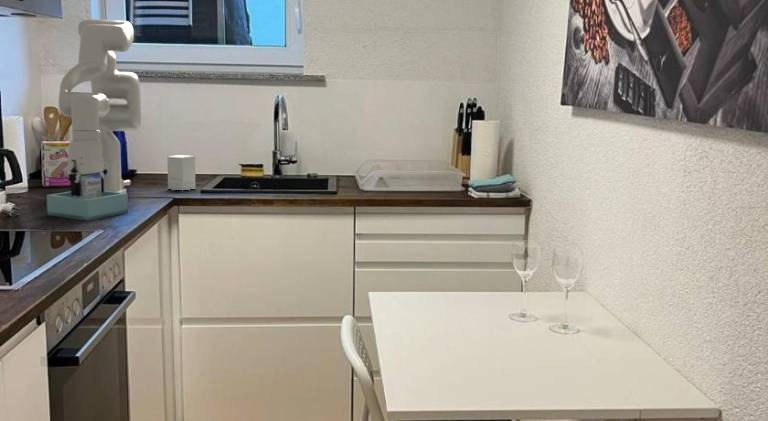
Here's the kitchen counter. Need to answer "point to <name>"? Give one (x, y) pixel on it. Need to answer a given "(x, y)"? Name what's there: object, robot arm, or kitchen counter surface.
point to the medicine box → (90, 186)
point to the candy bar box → (54, 163)
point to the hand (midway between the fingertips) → (87, 193)
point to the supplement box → (181, 172)
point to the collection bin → (87, 205)
